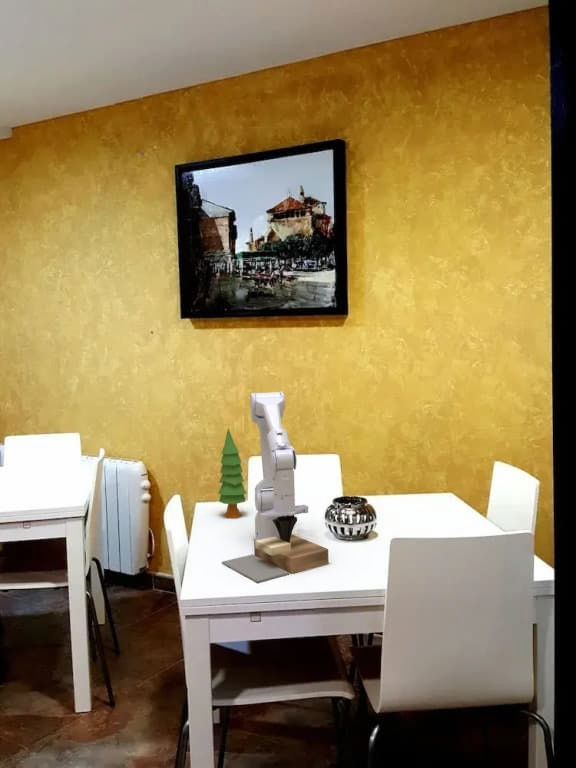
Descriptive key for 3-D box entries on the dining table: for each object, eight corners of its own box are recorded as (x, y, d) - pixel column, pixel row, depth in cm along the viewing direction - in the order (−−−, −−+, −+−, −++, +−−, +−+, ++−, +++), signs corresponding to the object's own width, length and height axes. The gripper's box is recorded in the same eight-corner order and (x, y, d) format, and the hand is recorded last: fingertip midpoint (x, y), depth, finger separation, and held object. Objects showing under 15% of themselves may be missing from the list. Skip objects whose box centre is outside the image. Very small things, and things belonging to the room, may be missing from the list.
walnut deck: (254, 555, 194) (254, 541, 194) (290, 546, 201) (289, 533, 201) (291, 573, 180) (291, 558, 179) (328, 563, 186) (328, 549, 186)
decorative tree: (216, 519, 232) (213, 429, 229) (222, 511, 241) (219, 424, 238) (245, 519, 230) (242, 429, 227) (250, 511, 239) (248, 424, 237)
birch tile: (255, 548, 188) (255, 540, 188) (274, 543, 192) (273, 536, 192) (272, 555, 182) (271, 548, 182) (290, 551, 185) (290, 543, 185)
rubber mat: (221, 563, 189) (221, 561, 189) (252, 556, 194) (252, 554, 194) (257, 583, 174) (257, 581, 174) (289, 574, 179) (289, 572, 179)
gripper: (269, 501, 180) (271, 552, 182) (314, 492, 189) (315, 541, 190) (254, 495, 186) (256, 545, 187) (299, 487, 194) (300, 535, 196)
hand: (285, 543), depth 189 cm, fingers closed
